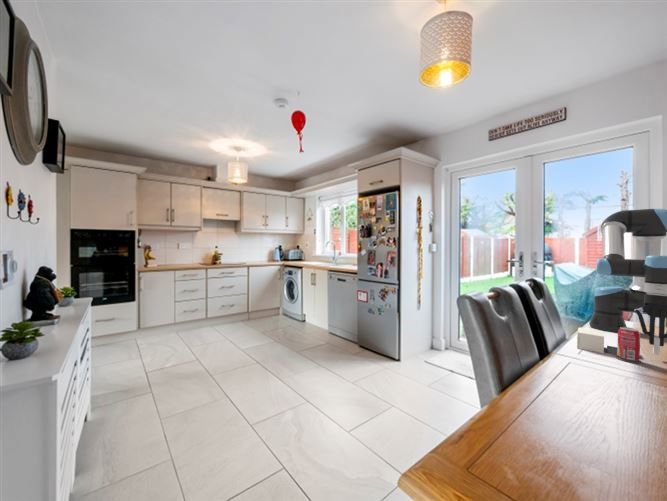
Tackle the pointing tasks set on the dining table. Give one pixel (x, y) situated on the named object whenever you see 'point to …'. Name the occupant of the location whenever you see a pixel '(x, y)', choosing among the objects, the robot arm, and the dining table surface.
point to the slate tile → (612, 349)
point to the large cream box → (590, 340)
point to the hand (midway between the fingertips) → (655, 353)
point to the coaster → (629, 360)
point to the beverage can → (628, 344)
